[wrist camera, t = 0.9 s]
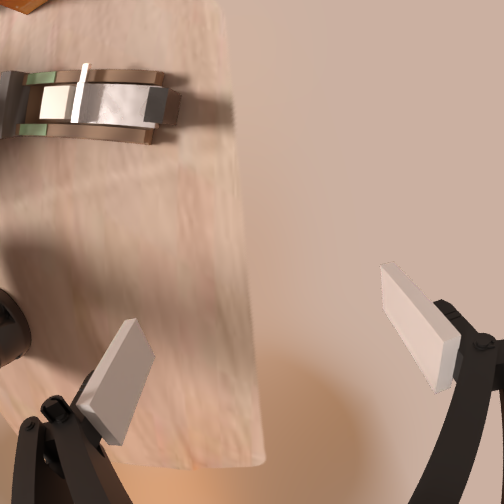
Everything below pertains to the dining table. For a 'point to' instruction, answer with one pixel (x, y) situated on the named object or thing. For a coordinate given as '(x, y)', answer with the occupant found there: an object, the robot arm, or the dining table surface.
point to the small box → (22, 5)
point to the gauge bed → (28, 123)
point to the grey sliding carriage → (124, 103)
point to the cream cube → (57, 102)
